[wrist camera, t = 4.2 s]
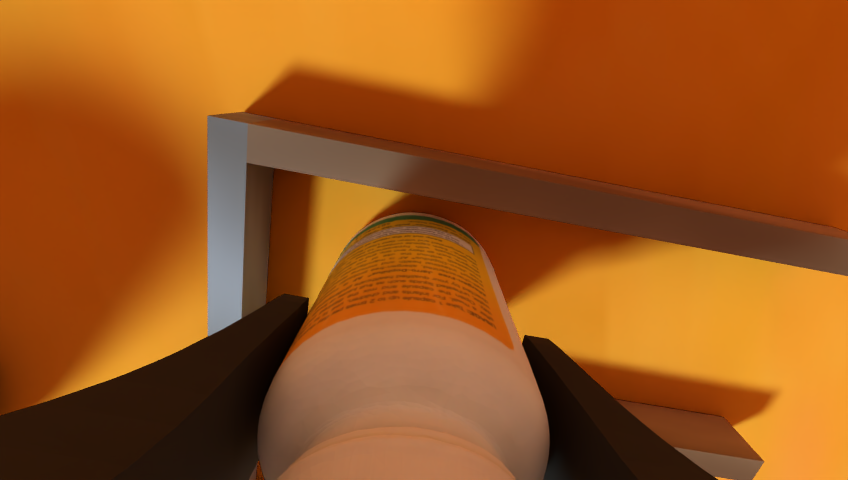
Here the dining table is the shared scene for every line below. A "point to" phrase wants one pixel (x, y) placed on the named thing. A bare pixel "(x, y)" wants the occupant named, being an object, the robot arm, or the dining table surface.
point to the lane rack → (490, 188)
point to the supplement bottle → (406, 368)
